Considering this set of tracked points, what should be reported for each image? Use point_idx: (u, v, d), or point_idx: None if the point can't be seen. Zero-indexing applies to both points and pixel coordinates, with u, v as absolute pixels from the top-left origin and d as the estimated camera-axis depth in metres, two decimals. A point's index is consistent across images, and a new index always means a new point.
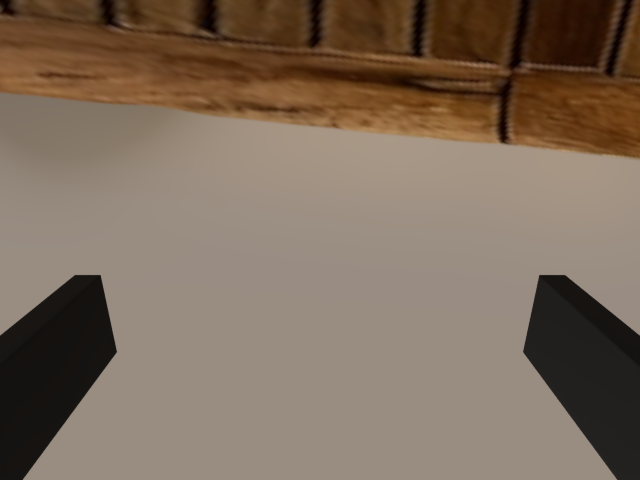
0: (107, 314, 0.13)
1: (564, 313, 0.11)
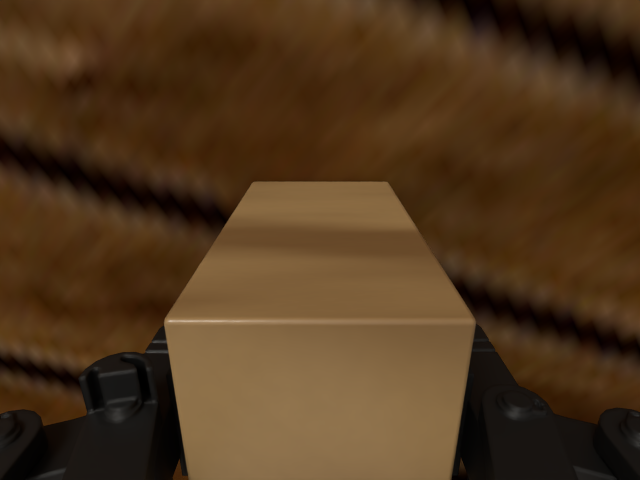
0: None
1: None
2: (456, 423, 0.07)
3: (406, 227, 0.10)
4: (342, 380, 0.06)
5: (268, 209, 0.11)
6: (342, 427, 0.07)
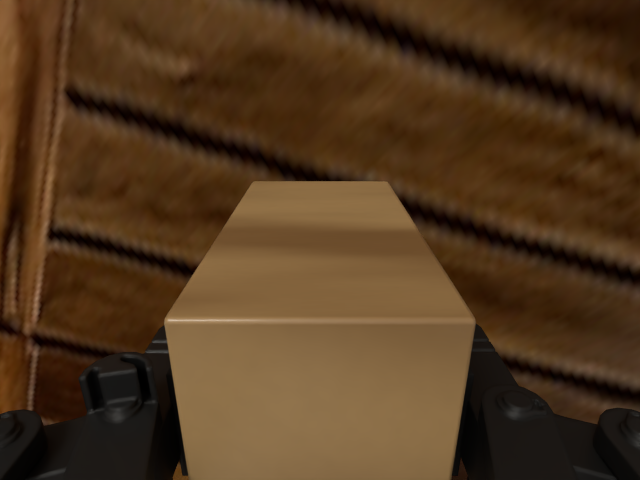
0: None
1: None
2: (456, 422, 0.07)
3: (406, 227, 0.10)
4: (342, 379, 0.06)
5: (268, 208, 0.11)
6: (342, 426, 0.07)
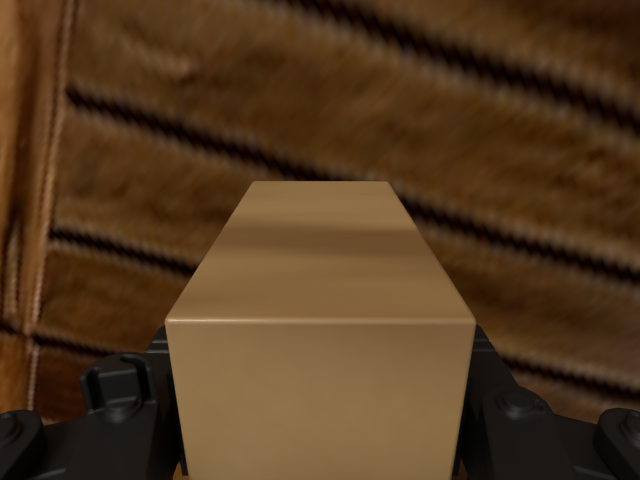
0: None
1: None
2: (456, 423, 0.07)
3: (406, 227, 0.10)
4: (343, 380, 0.06)
5: (268, 208, 0.11)
6: (342, 426, 0.07)
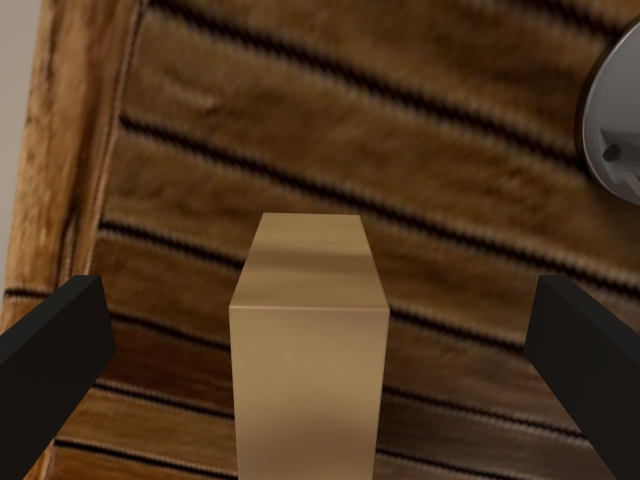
0: (107, 314, 0.13)
1: (564, 313, 0.11)
2: (381, 365, 0.12)
3: (365, 253, 0.15)
4: (320, 340, 0.12)
5: (276, 237, 0.17)
6: (320, 366, 0.12)
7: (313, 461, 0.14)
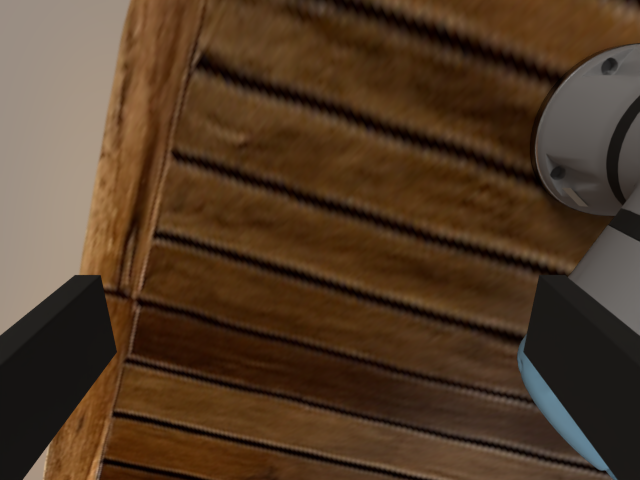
0: (107, 314, 0.13)
1: (564, 313, 0.11)
2: None
3: None
4: None
5: None
6: None
7: None
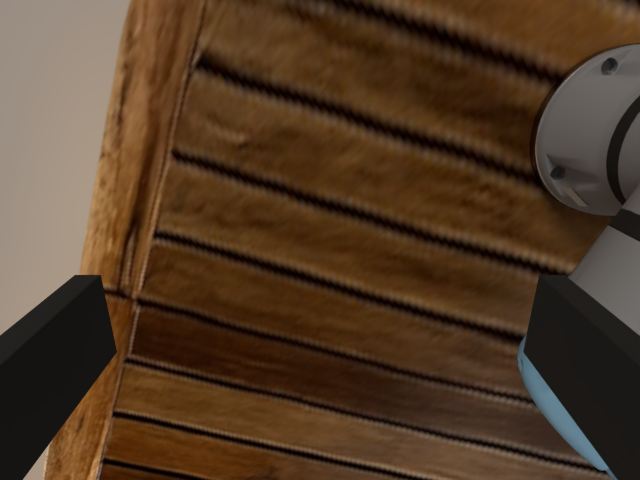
0: (107, 314, 0.13)
1: (564, 313, 0.11)
2: None
3: None
4: None
5: None
6: None
7: None
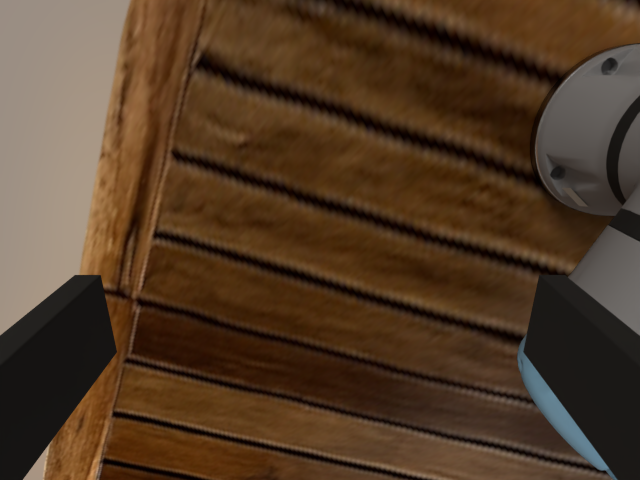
0: (107, 314, 0.13)
1: (564, 313, 0.11)
2: None
3: None
4: None
5: None
6: None
7: None
